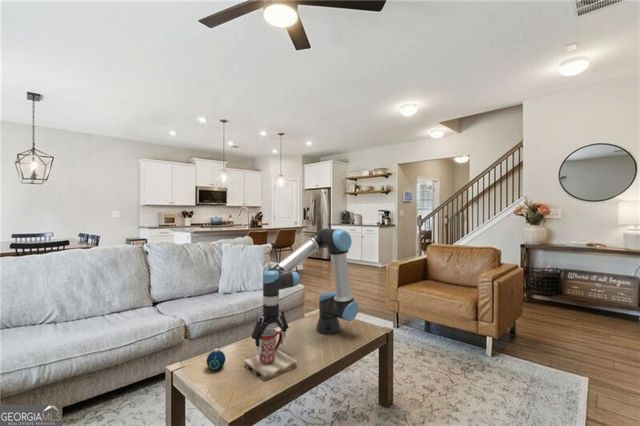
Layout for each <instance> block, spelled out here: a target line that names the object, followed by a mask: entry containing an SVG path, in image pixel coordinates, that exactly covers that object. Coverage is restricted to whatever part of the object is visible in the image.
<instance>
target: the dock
mask: <svg viewBox="0 0 640 426" xmlns="http://www.w3.org/2000/svg"><path fill="white" fill-rule="evenodd" d="M297 364H298V360H296V359H294V358H293V357H291V356H289V355H287V354H285V353H284V352H282V351H280V350H279V349H277V351H276V352H275V360H274V361H273V362H271V363H261V362H260V360H259V354H257V355H253V356H251V357H249V358H246V359H244V367H245V368H246V369H248V370H249V369H252V373H253V374H254V375H255V376H257V375H260V379H261V380H262V381H263V382H266V381H268V380H270V379H273V378H276V377H278V376H280V375H282V374H284V373H286V372H289V371H290V370H293V369H295V368H297Z"/></svg>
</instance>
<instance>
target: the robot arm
mask: <svg viewBox="0 0 640 426" xmlns="http://www.w3.org/2000/svg"><path fill="white" fill-rule="evenodd" d="M352 241H353V240H352V236H351V234H350V233H349V232H348V231H347V230H344V229H339V228H337V229H335V228H322V229H320V230H318V231H316V232H314V233H313V234H312V235H310V236H309V237H307V239H306V241H305V242H304V243H302V245H300V246H299V247H297V248H296V249H295V250H294V251H292V252H291V253H290V254H288V255H287V256H286V257H284V258H283V259H282V260H281V261H279V262H278V263H276V264H275V265H274V266H272V267H266V268H265V269H264V270H263V273H262V314H263V315H262V316H257V317H256V318H257V319H256V323H255V326H254V328H253V332H252V334H251V339H252V340H255V347H256V352H257V353H258V355H259V354H261V339H260V338H261V335H262V334H263V332H264V331H265V329H266V328H268V326H269V325H272V324H276V325H277V326H278V328H279V329H280V330H279V332H281V334H282V340H281V343H280V345H281V346H285V338H286V332H287V330H288V329H289V328H290V327H289V324H288V321H287V320H286V318H285V317H286V316H285V312H284V311H283V310H280V305H279V303H280V290H285V289H290V288H294V287H297V286H298V285H299V284H300V279H301V277H300V274H299V273H298V272H296V271H292V270H294V269H295V268H296V267H297V266H299V265H300V264H301V263H302V262H303V261H304V260H306V259H307V258H308V257H310V256H311V255H312V254H314V253H315V252H316V253H317V252H318V251H320V250H321V249H327V252H328V255H330V257H331V264H332V274H333V280H334V281H333V282H334V289H335V291H330V292H329V291H328V292H322V293H321V294H320V295H319V300H318V305H319V307H318V309H319V312H318V314H319V315H318V316H319V318H318V320H317V324H316V327H315V328H316V332H317V333H320V334H322V335H336V334H338V333H340V332H341V330H342V328H341V323H340V320H339V319H341V320H343V321H348V322H352V321H353V320H354V319H355V318H356V317H357V315H358V313H359V310H360V307H359V303H358V302H357V301H354V300H355V299H354V295H353V294H352V293H351V285H350V279H349V270H348V269H349V268H348V259H347V254H348V253H349V250H350V248H351V247H352V246H351V245H352V243H353V242H352ZM279 319H280V320H279Z"/></svg>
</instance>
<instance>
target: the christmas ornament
mask: <svg viewBox="0 0 640 426" xmlns="http://www.w3.org/2000/svg"><path fill="white" fill-rule="evenodd" d="M225 363H226V354H225V353H224V352H223V351H222V350H219V348H218V347H217V348H216V347H215V348H214V349H213V351H211V352H209V354H208V355H207V357H206V366H207V367H208V368H209V369H210V370H213V371H217V370H219V369H222V367H223V366H224V365H225Z"/></svg>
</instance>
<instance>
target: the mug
mask: <svg viewBox="0 0 640 426" xmlns="http://www.w3.org/2000/svg"><path fill="white" fill-rule="evenodd" d="M278 335H279V336H278ZM277 336H278V340H277ZM260 339H261V354H259V353H258V355H259V360H260V362H261V363H271V362H273V361H274V360H275V352H276V351H277V350H279V347H280V345H281V344H280V343H281V340H282V334H281V332H280V330H279V331H278V330H277V329H275V328H273V327H266V329H265V331H264V332H263V334H262V335H261V338H260Z"/></svg>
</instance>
